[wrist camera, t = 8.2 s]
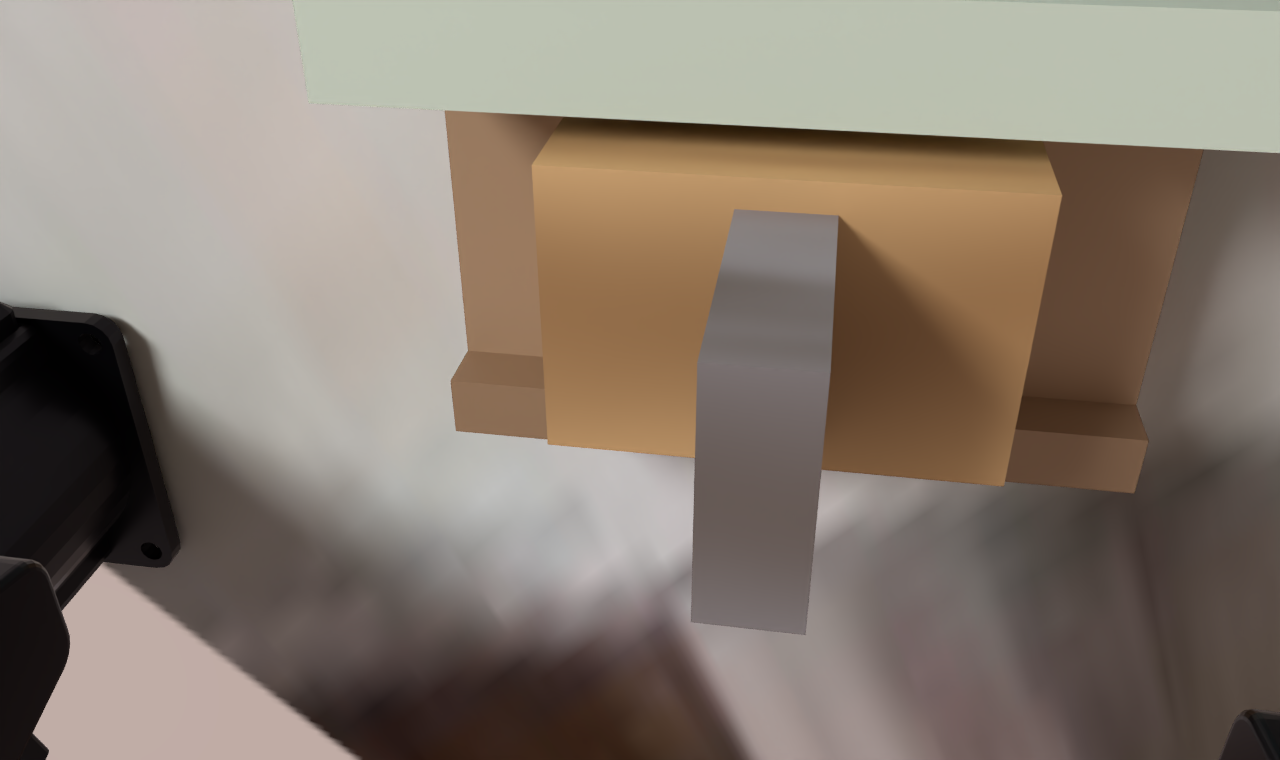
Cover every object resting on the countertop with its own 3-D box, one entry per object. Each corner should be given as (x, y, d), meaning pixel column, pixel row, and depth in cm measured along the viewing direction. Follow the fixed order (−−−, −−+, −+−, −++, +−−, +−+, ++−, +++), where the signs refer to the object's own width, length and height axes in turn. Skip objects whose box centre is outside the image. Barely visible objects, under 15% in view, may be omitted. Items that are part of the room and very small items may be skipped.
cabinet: (976, 344, 18) (1034, 703, 12) (604, 317, 19) (476, 637, 13) (1021, 83, 16) (1120, 355, 10) (598, 65, 17) (440, 304, 11)
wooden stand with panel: (1125, 379, 21) (1207, 606, 16) (484, 328, 23) (375, 519, 18) (1245, -92, 17) (1409, 16, 12) (446, -110, 18) (288, -24, 13)
